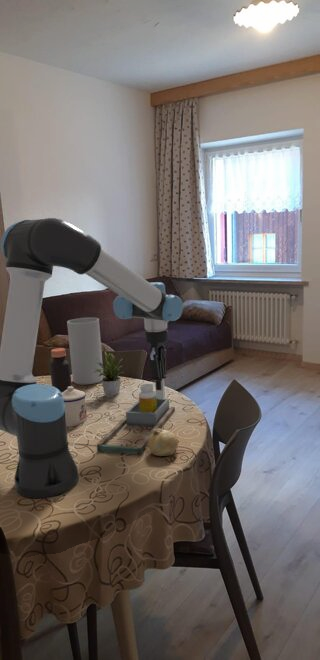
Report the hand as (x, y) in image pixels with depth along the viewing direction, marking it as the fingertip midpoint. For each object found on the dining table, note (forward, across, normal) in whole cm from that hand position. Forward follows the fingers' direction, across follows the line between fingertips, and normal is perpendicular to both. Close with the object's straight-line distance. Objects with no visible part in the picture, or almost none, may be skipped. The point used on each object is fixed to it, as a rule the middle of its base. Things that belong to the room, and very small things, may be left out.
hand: (160, 397), depth 171 cm
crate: (+2, -12, 0) cm, 13 cm away
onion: (+3, -35, -12) cm, 37 cm away
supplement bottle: (+2, -12, 0) cm, 13 cm away
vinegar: (+3, -4, +35) cm, 35 cm away
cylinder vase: (+3, +24, +39) cm, 46 cm away
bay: (+3, -21, 0) cm, 21 cm away
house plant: (+3, +9, +23) cm, 25 cm away
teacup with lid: (+3, -17, +24) cm, 29 cm away
